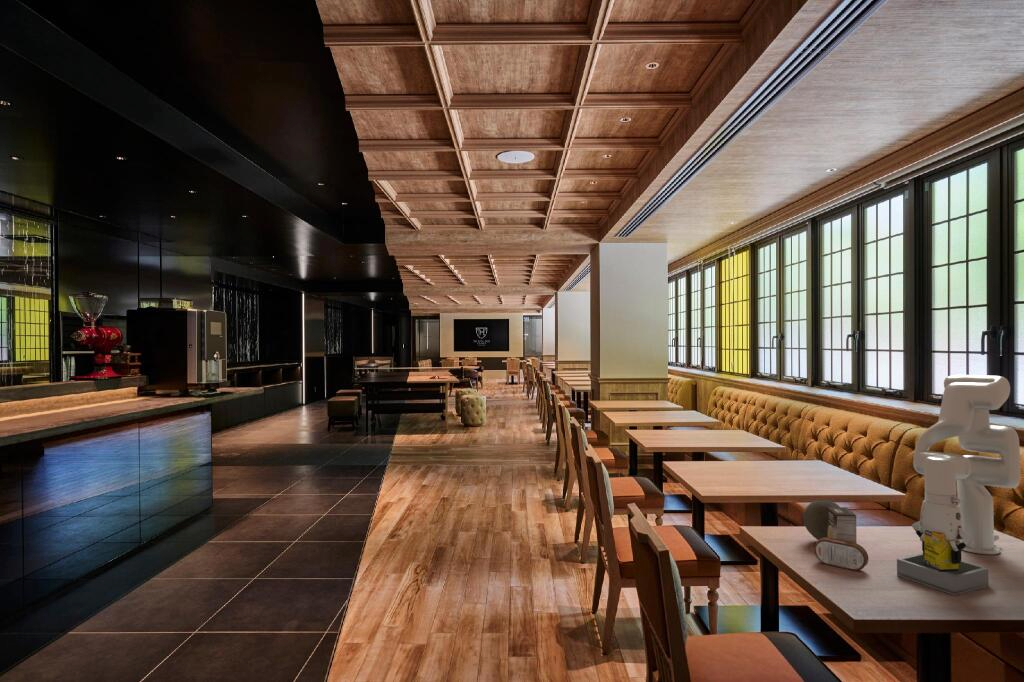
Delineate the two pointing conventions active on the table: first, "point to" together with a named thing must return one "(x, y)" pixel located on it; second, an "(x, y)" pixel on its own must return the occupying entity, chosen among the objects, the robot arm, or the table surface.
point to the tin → (841, 553)
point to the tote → (943, 575)
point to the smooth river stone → (817, 518)
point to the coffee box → (841, 524)
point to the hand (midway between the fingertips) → (941, 558)
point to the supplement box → (938, 552)
